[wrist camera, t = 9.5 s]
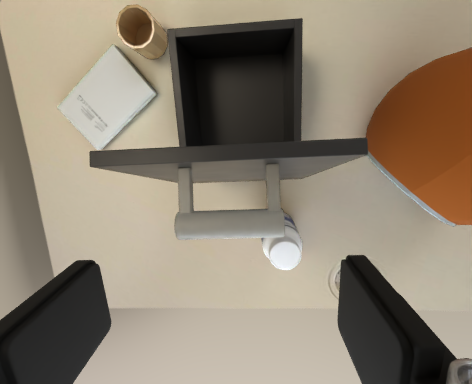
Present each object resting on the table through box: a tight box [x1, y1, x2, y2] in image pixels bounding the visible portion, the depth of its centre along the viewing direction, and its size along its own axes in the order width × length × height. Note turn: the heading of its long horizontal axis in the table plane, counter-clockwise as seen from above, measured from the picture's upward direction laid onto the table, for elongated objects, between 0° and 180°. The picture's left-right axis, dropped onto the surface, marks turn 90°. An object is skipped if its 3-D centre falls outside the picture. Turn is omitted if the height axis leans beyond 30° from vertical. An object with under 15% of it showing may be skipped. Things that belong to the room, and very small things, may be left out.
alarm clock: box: [366, 47, 472, 227], centre depth 28 cm, size 19×18×17 cm
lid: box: [90, 138, 368, 240], centre depth 20 cm, size 16×14×5 cm
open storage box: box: [167, 18, 303, 147], centre depth 32 cm, size 16×14×10 cm
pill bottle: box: [262, 213, 302, 270], centre depth 36 cm, size 5×5×10 cm
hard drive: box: [57, 44, 157, 150], centre depth 36 cm, size 2×8×12 cm
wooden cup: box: [116, 5, 168, 59], centre depth 33 cm, size 5×5×5 cm
